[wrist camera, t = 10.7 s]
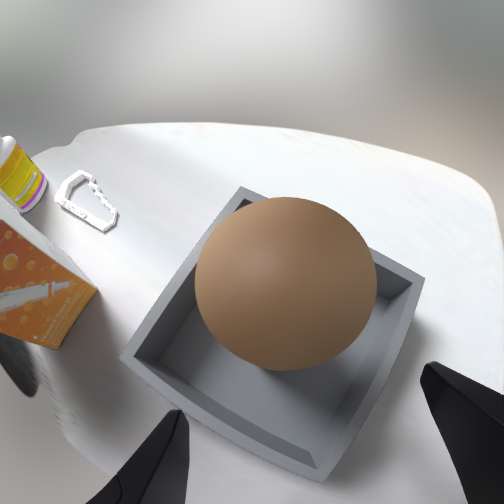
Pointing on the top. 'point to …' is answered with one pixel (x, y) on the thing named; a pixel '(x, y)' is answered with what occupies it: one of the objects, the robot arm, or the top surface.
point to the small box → (37, 284)
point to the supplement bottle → (19, 176)
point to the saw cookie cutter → (63, 200)
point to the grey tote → (267, 381)
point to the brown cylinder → (285, 283)
